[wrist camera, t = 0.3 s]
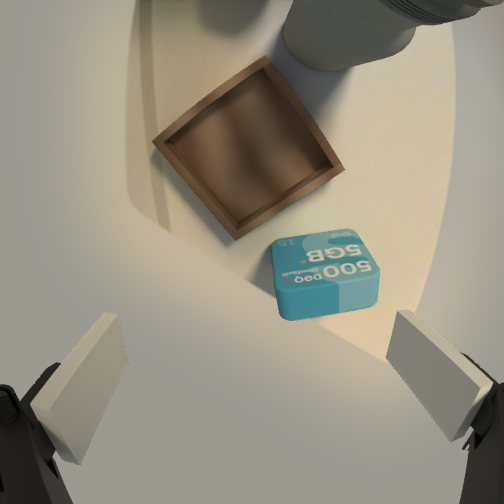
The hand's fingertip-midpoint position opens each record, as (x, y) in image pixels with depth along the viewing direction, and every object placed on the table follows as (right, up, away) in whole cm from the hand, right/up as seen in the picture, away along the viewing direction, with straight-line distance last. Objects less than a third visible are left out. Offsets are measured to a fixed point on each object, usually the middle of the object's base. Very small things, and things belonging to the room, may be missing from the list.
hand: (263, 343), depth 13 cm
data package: (+8, +5, +29) cm, 30 cm away
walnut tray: (-1, +17, +22) cm, 28 cm away
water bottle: (+8, +30, +15) cm, 34 cm away
